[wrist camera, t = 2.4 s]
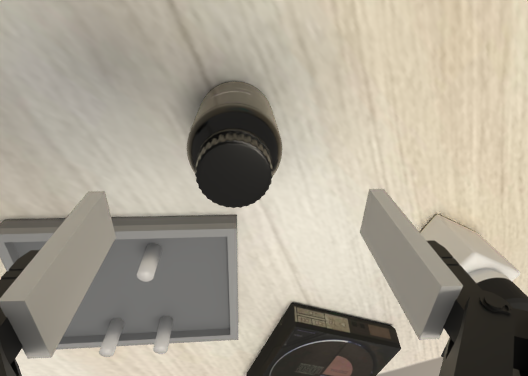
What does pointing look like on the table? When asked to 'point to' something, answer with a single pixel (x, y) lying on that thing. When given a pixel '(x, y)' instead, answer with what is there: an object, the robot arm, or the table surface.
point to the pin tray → (149, 281)
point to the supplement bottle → (234, 145)
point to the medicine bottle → (477, 259)
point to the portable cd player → (325, 345)
